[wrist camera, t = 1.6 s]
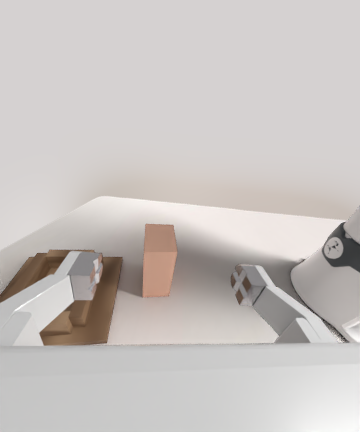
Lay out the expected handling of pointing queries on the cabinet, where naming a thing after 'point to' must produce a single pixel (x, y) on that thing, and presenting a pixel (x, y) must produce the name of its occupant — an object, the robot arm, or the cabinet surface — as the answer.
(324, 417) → the robot arm
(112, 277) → the wooden tray with base
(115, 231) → the cabinet surface
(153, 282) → the peach rectangular block
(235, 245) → the cabinet surface
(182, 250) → the cabinet surface
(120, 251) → the cabinet surface
